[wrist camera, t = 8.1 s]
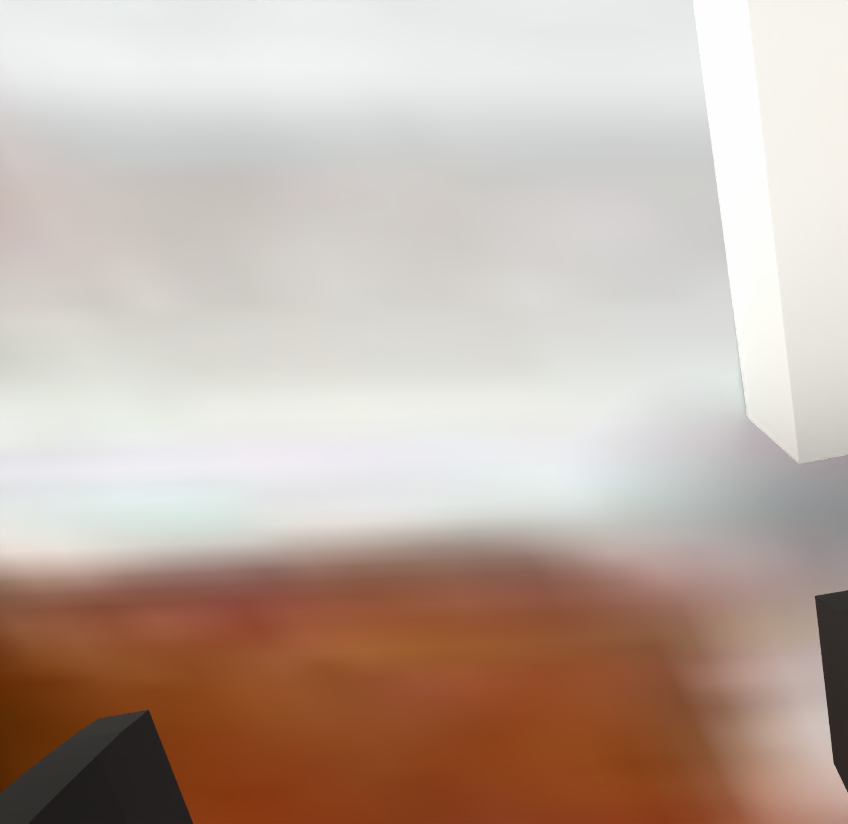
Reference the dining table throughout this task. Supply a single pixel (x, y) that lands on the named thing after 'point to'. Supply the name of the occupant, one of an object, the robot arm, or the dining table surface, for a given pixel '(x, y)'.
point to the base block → (784, 208)
